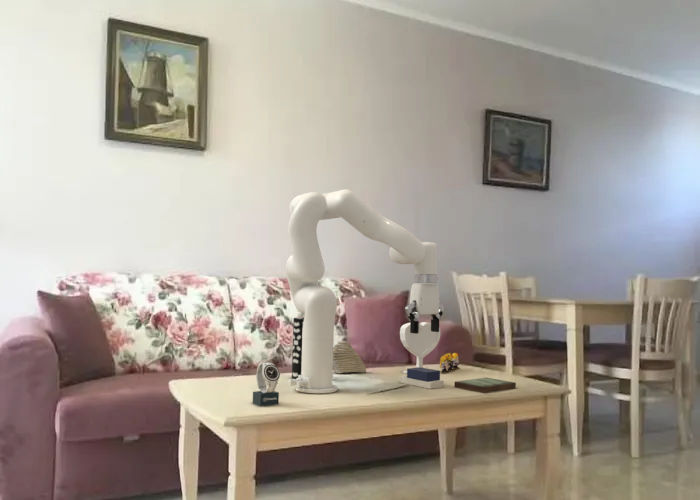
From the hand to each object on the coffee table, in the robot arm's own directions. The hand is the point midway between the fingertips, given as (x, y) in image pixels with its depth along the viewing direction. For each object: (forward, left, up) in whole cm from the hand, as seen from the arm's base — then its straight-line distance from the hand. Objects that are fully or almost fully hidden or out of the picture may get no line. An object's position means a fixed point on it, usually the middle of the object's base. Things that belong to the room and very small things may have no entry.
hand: (424, 332), depth 220 cm
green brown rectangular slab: (+13, -14, -17) cm, 26 cm away
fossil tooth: (-6, +33, -17) cm, 37 cm away
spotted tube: (-26, +31, -17) cm, 43 cm away
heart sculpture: (+19, +21, -17) cm, 33 cm away
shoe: (-1, +1, -17) cm, 17 cm away
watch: (-60, +2, -17) cm, 62 cm away
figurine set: (+31, +17, -17) cm, 39 cm away
